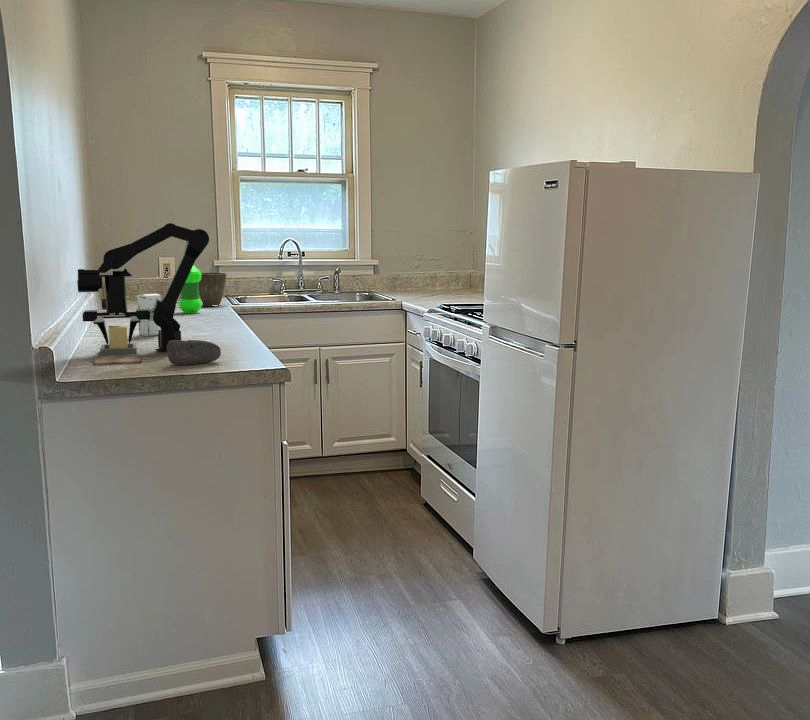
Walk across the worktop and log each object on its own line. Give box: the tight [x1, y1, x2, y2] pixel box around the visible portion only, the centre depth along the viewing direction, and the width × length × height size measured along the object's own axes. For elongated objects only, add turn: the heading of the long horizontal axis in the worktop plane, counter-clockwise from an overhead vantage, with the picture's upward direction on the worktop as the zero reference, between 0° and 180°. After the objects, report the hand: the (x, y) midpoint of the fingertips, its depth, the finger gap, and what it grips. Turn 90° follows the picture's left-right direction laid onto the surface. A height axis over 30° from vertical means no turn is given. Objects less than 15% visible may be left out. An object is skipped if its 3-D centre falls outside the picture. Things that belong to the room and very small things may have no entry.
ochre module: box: [108, 324, 129, 349], centre depth 222 cm, size 5×5×8 cm
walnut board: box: [93, 353, 142, 366], centre depth 210 cm, size 12×12×1 cm
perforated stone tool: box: [166, 339, 222, 365], centre depth 206 cm, size 15×5×7 cm, turn 114°
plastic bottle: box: [178, 265, 203, 314], centre depth 328 cm, size 10×10×25 cm
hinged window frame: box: [99, 342, 138, 356], centre depth 227 cm, size 10×20×2 cm, turn 20°
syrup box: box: [137, 293, 162, 337], centre depth 259 cm, size 6×6×14 cm
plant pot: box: [199, 272, 227, 307], centre depth 359 cm, size 15×15×16 cm
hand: (118, 343), depth 222 cm, fingers open, 6 cm apart
